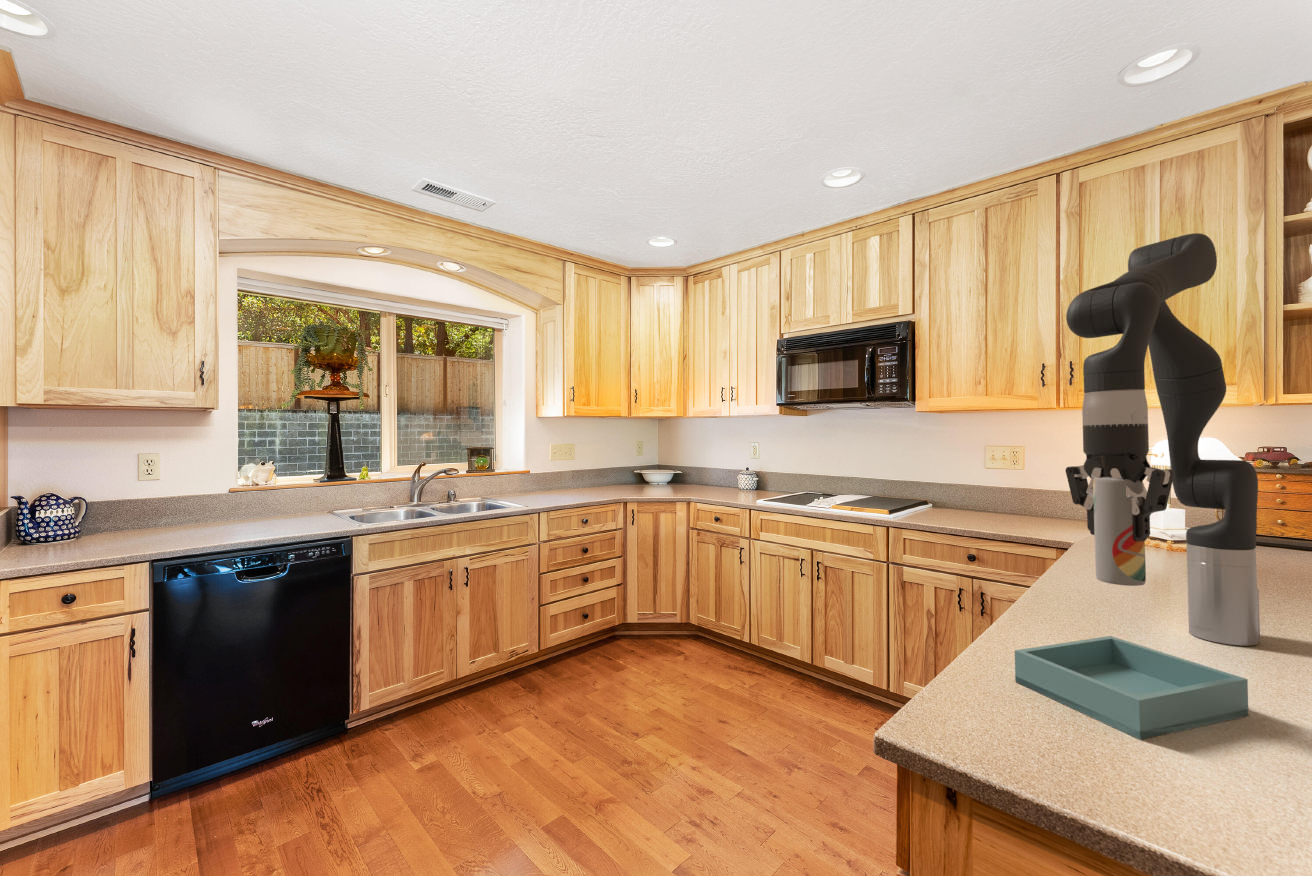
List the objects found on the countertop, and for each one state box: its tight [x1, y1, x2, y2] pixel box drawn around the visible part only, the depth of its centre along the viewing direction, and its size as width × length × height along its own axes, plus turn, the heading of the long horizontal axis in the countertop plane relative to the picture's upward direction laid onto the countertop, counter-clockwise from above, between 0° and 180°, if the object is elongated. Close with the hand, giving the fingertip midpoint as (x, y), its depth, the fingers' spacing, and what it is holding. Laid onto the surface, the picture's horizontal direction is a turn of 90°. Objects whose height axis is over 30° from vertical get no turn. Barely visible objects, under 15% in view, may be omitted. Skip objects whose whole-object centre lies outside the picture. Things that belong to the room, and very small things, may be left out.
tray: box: [1014, 635, 1249, 741], centre depth 83 cm, size 20×18×5 cm
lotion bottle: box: [1093, 455, 1147, 587], centre depth 83 cm, size 6×6×20 cm
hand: (1117, 537), depth 83 cm, fingers closed on lotion bottle, 5 cm apart
